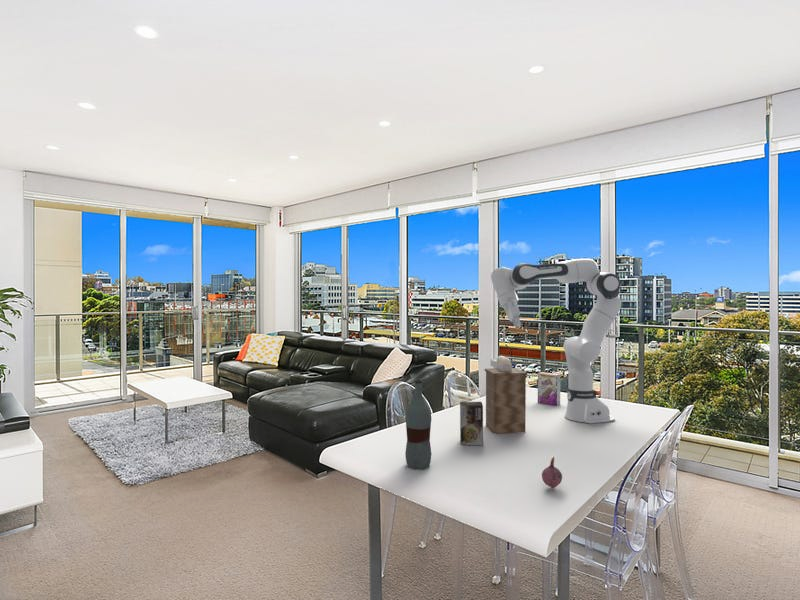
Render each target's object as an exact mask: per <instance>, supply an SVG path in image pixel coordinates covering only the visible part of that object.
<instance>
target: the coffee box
mask: <svg viewBox="0 0 800 600" xmlns="http://www.w3.org/2000/svg"><path fill="white" fill-rule="evenodd" d="M459 427H460V428H459V431H460V434H459V438H460V439H459V441H460V442H459V443H460V445H461V446H484V406H483V403H482V401H459Z"/></svg>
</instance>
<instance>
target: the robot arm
mask: <svg viewBox="0 0 800 600" xmlns="http://www.w3.org/2000/svg"><path fill="white" fill-rule="evenodd" d="M549 278H555V279H556V280H557V281H558V282H559V283H561V284H575V283H580V282H582V283H583V284H584V285H583V286H584V287H585V290H586V291H587V292H588V293H589V294H590V295H592V296H596V302H595V304H594V306H593V307H592V308H591V310H590V311H589V313H588V314H587V316H586V318H585V319H584V321H583V324H582V325H583V326H582V328H581V332H580V334H579V336H576V335H575V336H571V337H568V338H567V339H566V340H565V341H564V342H563V350H564V352H565V353H564V354H565V360H566V366H567V370H568V371H567V373H568V374H567V375H568V378H567V379H568V387H567V392H566V393H567V394H566V395H567V396H566V397H567V405H566V410H565V414H564V418H565V419H567V420H569V421H570V420H571V421H574V422H581V423H585V424H597V423H606V422H607V423H609V422H615V421H616V419H615V417H614V416H612V415H611V414H610V409H609V407H608V405H607V404H605V403H604V402H603V401H602V400H600V399H599V398H598V397H599V396H601V394H602V392H600V391H599V390H595V389H594V373H593V370H592V368H591V362H595V361H596V360H597V359H598V358H599V357H600V354H601V345H602V343H603V341H604V338H605V335H606V334H607V332H608V330H609V329H610V328H611V326H612V324H613V323H614V321H615V319H616V318H617V316H618V314H619V312H620V309H621V307H622V300H621V299H620V297H619V295H620V289H621V283H622V282H621V280H620V277H619V276H618V275H617V274H616V273H613V272H608V271H606V272H601V271H599V267H598V264H597V262H596V261H595V260H593V259H591V258H576V259H570V260H564V261H560V262H556V263H545V264H544V263H543V264H531V263H527V262H520V263H518V264H517V265H515V267H513V268H508V267H506V266H501V267H498V268H496V269H495V270H493V272H491V275H490V279H491V283H492V286H493V289H494V291H495V292H496V297H497V300H498V303H499V306H500V307H501V308H502V309H503V311H504V312H505V314H506V316H507V320H509V321H510V322H512V324H513V326H514V328H515V330H518V329H520V327H521V326H522V323H521V319H520V315H521V310H520V308H519V307H518V303H517V302H519V297H518V295H517V293H516V291H519V290H521V291H522V290H524V289H526V288H527V287H528V286H529V285H530V284H531V283H533V282H534V281H535V280H540V279H549ZM597 396H598V397H597Z"/></svg>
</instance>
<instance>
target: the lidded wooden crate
mask: <svg viewBox="0 0 800 600" xmlns="http://www.w3.org/2000/svg"><path fill="white" fill-rule="evenodd" d="M484 372H485V426H486V428H488V430H490V431H491V432H492V433H493V434H494V433H496V434H518V433H517V432H524V433H526V415H527V413H526V411H527V410H526V401H527V400H526V399H527V397H526V394H527V393H526V391H527V388H526V382H527V381H526V379H527V376H528V372H526V371H524V370H522V369H519V368H517V367H512V372H502V371H500V370H498V369H496V368H494V367H491V368H484Z"/></svg>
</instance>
